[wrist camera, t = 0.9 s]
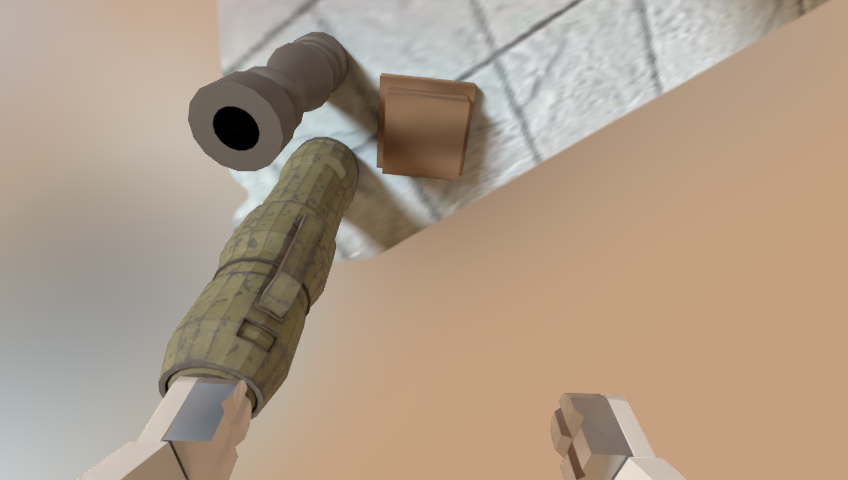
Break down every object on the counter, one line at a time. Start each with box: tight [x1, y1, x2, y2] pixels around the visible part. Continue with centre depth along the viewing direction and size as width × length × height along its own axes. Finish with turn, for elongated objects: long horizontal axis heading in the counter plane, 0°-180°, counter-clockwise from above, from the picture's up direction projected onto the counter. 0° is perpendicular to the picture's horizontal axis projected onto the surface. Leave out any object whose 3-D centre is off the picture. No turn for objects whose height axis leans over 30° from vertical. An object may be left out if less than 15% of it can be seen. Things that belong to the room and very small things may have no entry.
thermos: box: [159, 137, 359, 419], centre depth 38 cm, size 9×12×35 cm
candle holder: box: [188, 32, 348, 171], centre depth 35 cm, size 6×6×25 cm
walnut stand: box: [377, 73, 476, 180], centre depth 47 cm, size 11×11×6 cm
